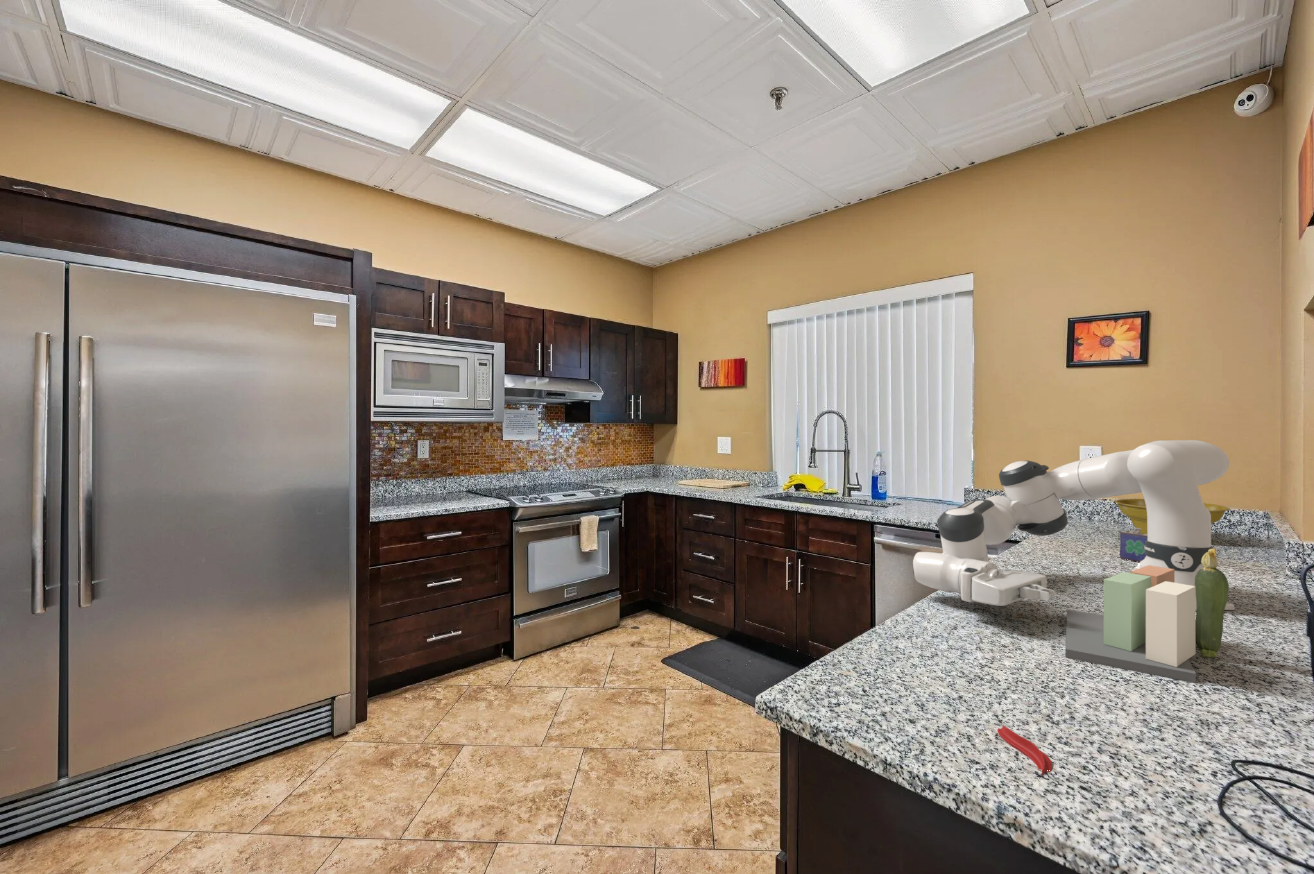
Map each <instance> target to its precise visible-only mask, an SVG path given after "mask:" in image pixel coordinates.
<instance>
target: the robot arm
mask: <svg viewBox="0 0 1314 874" xmlns="http://www.w3.org/2000/svg"><path fill="white" fill-rule="evenodd" d="M1229 467H1230V460H1229V457H1228V455H1227V453H1226V451H1224V450H1223V449H1222V448H1221V447H1219V446H1217V445H1215V444H1213V443H1209V442H1207V441H1203V440H1197V439H1182V440H1181V439H1172V440H1171V439H1169V440H1167V439H1166V440H1165V439H1164V440H1161V439H1160V440H1155V441H1151V442H1148V443H1145V444H1141V445H1139V446H1137V447H1136V448H1134V449H1129V450H1123V451H1116V452H1111V453H1107V454H1102V455H1098V456H1097V455H1096V456H1093V457H1087V458H1083V459H1078V460H1075V461H1073V462H1069V463H1066V464H1063V465H1060V466H1058V467H1056V468H1054V469H1052V470H1050V471H1048V470H1049V468H1050V467H1049V466H1048V465H1045V464H1040V463H1038V462H1036V461H1032V460H1019V461H1014V462H1011V463H1009V464H1007V465H1006V466H1005V467H1003V468H1002V469H1001V470H1000V472H999V473H998V478H999V483H1000V486H1002V487H1003V489H1004V492H1005V494H1006V496H1002V495H992V496H989V497H986V498H985V499H982V498H977V499H976V498H975V499H971V500H968V501H966V502H964V503H962V504H960V505H959V506H957V507H955V508H950V509H947V510H944V511H943V513H941V514H940V516H939V517H938V518H937V521H936V524H937V527H938V532H939V535H940V541H941V547H942V552H941V553H940V552H932V551H918V552H916V553H915V554H914V556H913V558H912V572H913V576H914V579H915V581H916V582H918V583H919V584H920V585H923V586H925V587H927V588H928V587H929V588H931V589H935V590H938V591H942V592H946V593H957V594H958V595H960V596H961V597H960V598H961V601H964V602H967V603H974V602H976V603H980V604H986V605H991V606H999V607H1001V606H1007V605H1010V604H1013V603H1015V602H1018V601H1021V600H1024V599H1027V600H1040V601H1046V602H1048V601H1051V600H1054V599H1055V598H1056V591H1055V590H1054V589H1049V588H1047V586H1048V582H1047V579H1048V578H1047V576H1046V575H1044V574H1041V573H1035V572H1030V571H1029V572H1028V571H1023V570H1013V569H1010V570H1009V569H1008V570H1005V571H1002V570H1000V569H998V567H997V565H996V564H995V563H993V562H990V561H989V555H988V554H989V553H988V549H987V545H988V546H995V545H996V546H997V545H1000V544H1003V543H1005V542H1006V541H1007V540H1008V539H1009V538H1010V537H1011V535H1012V534H1013V532H1014V530H1015V529H1016V528H1017V529H1018V531H1021V532H1026V533H1028V534H1030V535H1034V536H1039V537H1045V536H1052V535H1055V534H1056V533H1059V532H1060V531H1063V530H1064V529H1065V528H1067V525H1068V524H1069V521H1068V520H1069V519H1068V516H1067V513H1066V511H1065V510H1064V508H1063V506H1062V503H1061V501H1060V500H1065V501H1086V500H1087V501H1089V500H1097V499H1104V498H1110V497H1112V498H1113V497H1117V496H1118V497H1119V496H1126V495H1130V494H1132V495H1133V494H1140V493H1142V496H1143V499H1144V500H1145V504H1146V509H1147V540H1146V541H1145V545H1144V549H1145V555H1146V557H1145V559H1144V560H1142V561H1140V562H1137V565H1136V566H1134V567H1133V571H1134V570H1137V569H1139V568H1142V567H1145V566H1148V565H1150V566H1157V567H1163V568H1170V569H1175V583H1179V584H1185V585H1191V586H1195V576H1196V573H1197V572H1198V571H1199V570H1200V569H1202V568H1204V566H1203V565H1202V563H1201V560H1202V557H1203V556H1204V555H1205V553H1207V552H1208V550H1209V549H1214V547H1213V546H1212V524H1211V514H1210V512H1209V510H1208V509H1207V508H1206V507H1205V505H1204V504H1203V503H1204V501H1203V499H1202V496H1201V493H1200V490H1199V486H1201V485H1203V486H1204V485H1207V484H1209V483H1211V482H1214V481H1216V480H1218V479H1220V478H1222V477H1223V476H1224V475H1226V474H1227V471H1228V470H1229ZM1216 569H1218V567H1216ZM1235 610H1236V607H1235V605H1234V604H1233V603H1231V602H1229V601H1228V600H1227V603H1226V606H1225V610H1224V611H1235ZM1195 611H1196V595H1195Z"/></svg>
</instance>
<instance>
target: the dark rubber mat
mask: <svg viewBox="0 0 1314 874" xmlns="http://www.w3.org/2000/svg"><path fill="white" fill-rule="evenodd" d="M1065 629H1066V630H1065V632H1066V633H1065V647H1064V648H1065V658H1067V657H1068V659H1073V660H1077V659H1078V660H1079V661H1082V662H1088V663H1093V664H1098V665H1103V666H1109V667H1113V668H1118V669H1123V670H1128V671H1133V672H1139V673H1143V672H1144V674H1149V675H1153V674H1155V675H1154V676H1158V675H1161V676H1160V677H1162V678H1163V677H1164V678H1169V679H1174V680H1179V681H1184V682H1189V683H1194V684H1197V683H1196V682H1197V673H1196V671H1195V670H1194V667H1193V665H1192V663H1191V661H1190V658H1189V659H1187V660H1186V661H1185V662H1183V663H1182V664H1180V665H1179V666H1177V667H1175V666H1171V665H1167V664H1164V663H1160V662H1156V661H1152V660H1149V659H1146V643H1145V644H1143V645H1141V646H1139V647H1138V648H1136V649H1134V650H1132V651H1128V650H1124V649H1121V648H1117V647H1113V646H1109V645H1105V644H1104V614H1099V613H1094V612H1085V611H1079V610H1074V609H1066V627H1065Z"/></svg>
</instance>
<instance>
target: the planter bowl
mask: <svg viewBox="0 0 1314 874" xmlns="http://www.w3.org/2000/svg"><path fill="white" fill-rule="evenodd" d="M1113 502H1114V503H1116V504H1117V506H1118V509H1119V510H1120V512H1121V513H1122V514H1123V515H1124V516H1125V515H1126V517H1127V518H1129V519H1130V521H1131V523H1132V525H1133V526H1134V528H1140V529H1141V530H1140V534H1147V509H1146V504H1145V500H1144V498H1120V499H1116V500H1114V501H1113ZM1203 504H1204V505H1205V507H1206V508H1207V509H1208V510H1209V512H1210V514H1211V525H1212V524H1215V523H1216V522H1217V523H1218V522H1219V521H1221V519H1222V518H1223V516H1224V514H1225V512H1226V511H1229V510H1230V508H1229V507H1227V506H1224V505H1219V504H1212V503H1206V502H1203Z"/></svg>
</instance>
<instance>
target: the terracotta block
mask: <svg viewBox="0 0 1314 874" xmlns="http://www.w3.org/2000/svg"><path fill="white" fill-rule="evenodd" d="M1129 573H1133V574H1139V575H1145V576H1151V587H1153V586H1155V585H1158V584H1160V583H1162V582H1165V581H1167V582H1173V583H1175V569H1170V568H1163V567H1157V566H1150V565H1148V566H1145V567H1142V568H1139V569H1137V570H1134V569H1133V570H1131V571H1130V572H1129Z"/></svg>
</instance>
